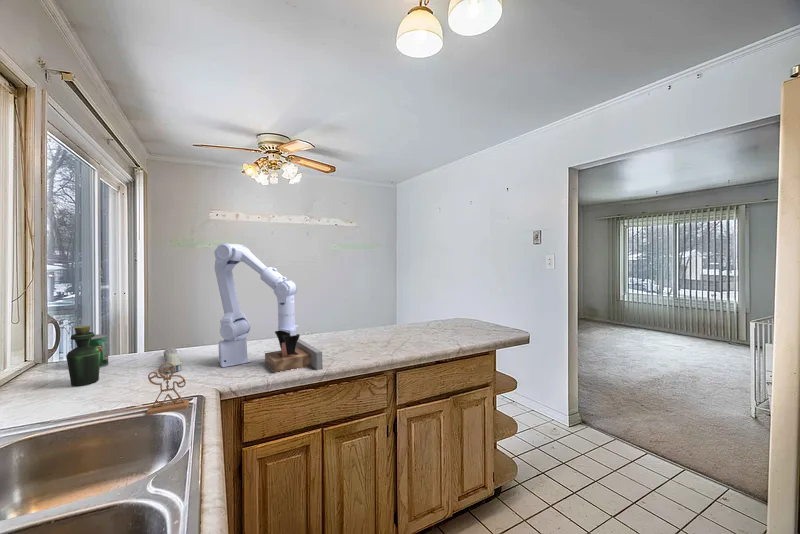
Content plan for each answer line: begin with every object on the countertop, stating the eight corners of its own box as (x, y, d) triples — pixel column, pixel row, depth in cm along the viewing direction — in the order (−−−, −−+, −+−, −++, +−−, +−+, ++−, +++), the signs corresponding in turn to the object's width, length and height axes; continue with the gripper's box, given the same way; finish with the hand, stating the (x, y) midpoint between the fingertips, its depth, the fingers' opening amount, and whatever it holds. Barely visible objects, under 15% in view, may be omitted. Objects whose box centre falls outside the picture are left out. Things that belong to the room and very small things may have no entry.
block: (274, 373, 117) (274, 361, 117) (265, 364, 127) (264, 353, 127) (310, 365, 124) (310, 354, 124) (299, 357, 134) (298, 347, 134)
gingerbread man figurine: (189, 402, 94) (187, 358, 94) (187, 408, 91) (185, 362, 90) (149, 409, 91) (147, 363, 90) (146, 415, 87) (144, 368, 87)
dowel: (284, 367, 123) (283, 345, 122) (280, 364, 126) (280, 342, 126) (295, 365, 125) (294, 343, 125) (291, 362, 128) (291, 340, 128)
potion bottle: (108, 379, 114) (106, 324, 113) (80, 388, 106) (77, 329, 105) (89, 377, 115) (86, 323, 115) (60, 386, 108) (57, 329, 107)
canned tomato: (107, 361, 133) (106, 333, 133) (109, 366, 128) (108, 336, 127) (79, 366, 128) (77, 336, 127) (80, 371, 122) (78, 340, 122)
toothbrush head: (177, 345, 141) (182, 350, 120) (178, 362, 140) (183, 370, 120) (161, 348, 137) (163, 353, 117) (162, 365, 137) (164, 373, 117)
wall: (317, 370, 119) (316, 352, 119) (294, 354, 139) (293, 339, 139) (322, 368, 120) (322, 351, 120) (299, 353, 140) (298, 338, 140)
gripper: (304, 316, 121) (305, 354, 122) (291, 310, 133) (292, 346, 134) (284, 318, 117) (285, 358, 118) (272, 312, 129) (273, 349, 129)
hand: (287, 352), depth 125 cm, fingers open, 7 cm apart
